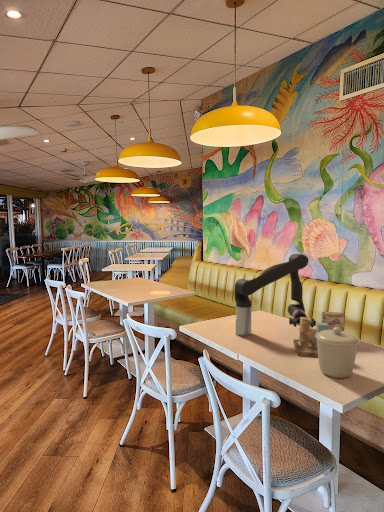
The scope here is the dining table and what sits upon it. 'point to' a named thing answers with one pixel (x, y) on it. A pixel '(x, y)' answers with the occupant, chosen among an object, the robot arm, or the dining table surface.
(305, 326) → the oak post
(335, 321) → the candy bar box
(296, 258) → the robot arm
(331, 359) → the canister
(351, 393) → the dining table surface
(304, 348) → the frame base
